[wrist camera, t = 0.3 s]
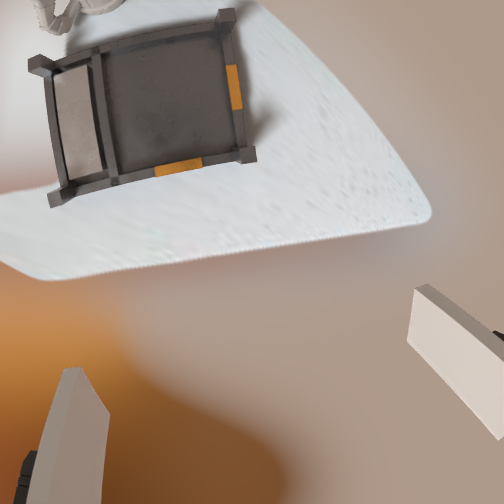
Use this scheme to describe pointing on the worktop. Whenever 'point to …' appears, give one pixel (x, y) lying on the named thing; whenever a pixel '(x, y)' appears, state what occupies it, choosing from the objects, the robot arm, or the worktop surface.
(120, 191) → the worktop surface
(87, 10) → the mug
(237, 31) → the worktop surface
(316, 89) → the worktop surface
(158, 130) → the tray
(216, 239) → the worktop surface
